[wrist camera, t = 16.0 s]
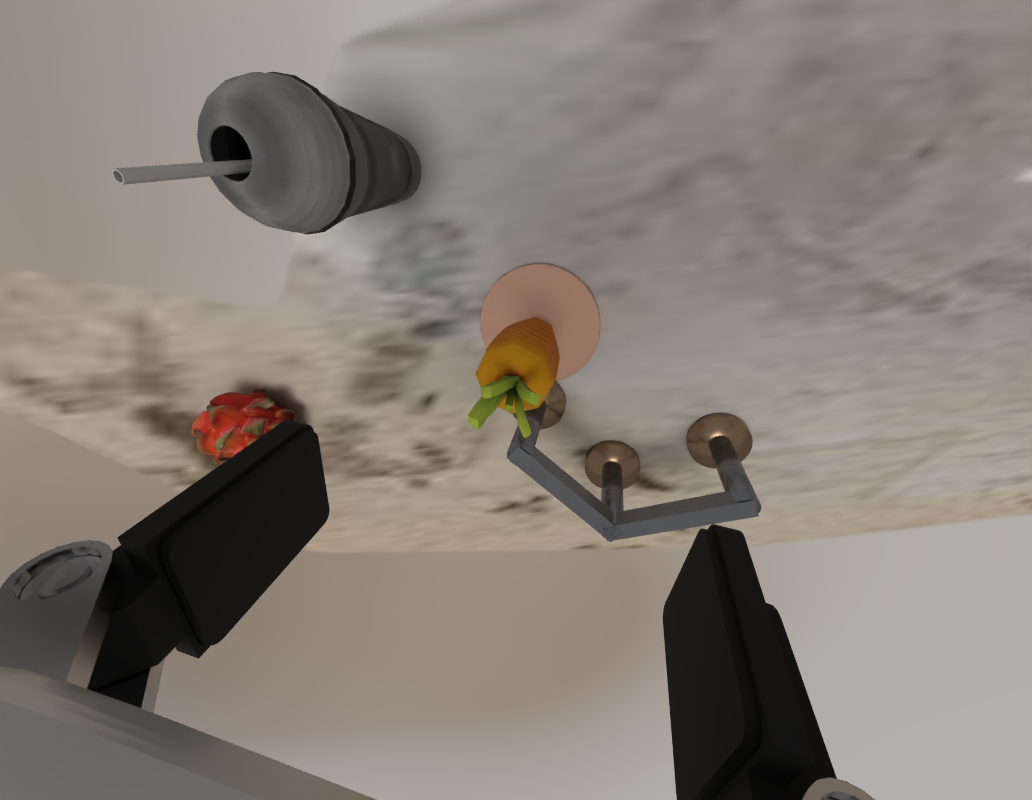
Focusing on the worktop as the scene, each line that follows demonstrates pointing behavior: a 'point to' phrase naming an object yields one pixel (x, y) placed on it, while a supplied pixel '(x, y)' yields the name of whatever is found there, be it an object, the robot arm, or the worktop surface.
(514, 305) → the terracotta coaster
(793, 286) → the worktop surface
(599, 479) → the grey cabinet handle
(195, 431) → the dragon fruit
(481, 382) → the carrot
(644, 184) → the worktop surface
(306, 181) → the beverage cup
